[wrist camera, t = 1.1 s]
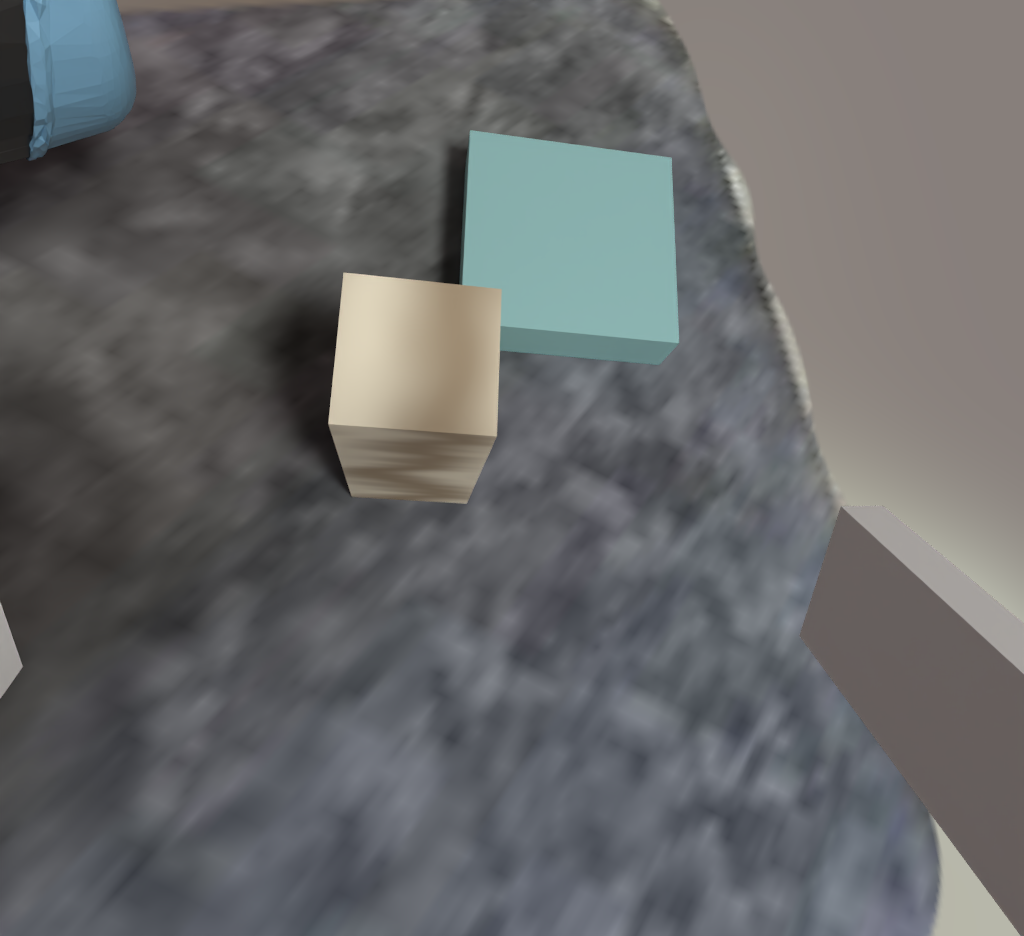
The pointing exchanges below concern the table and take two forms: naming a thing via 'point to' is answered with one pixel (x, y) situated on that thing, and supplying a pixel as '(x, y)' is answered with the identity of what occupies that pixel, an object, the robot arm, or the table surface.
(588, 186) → the teal board
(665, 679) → the table surface
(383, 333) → the pale wooden block
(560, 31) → the table surface
